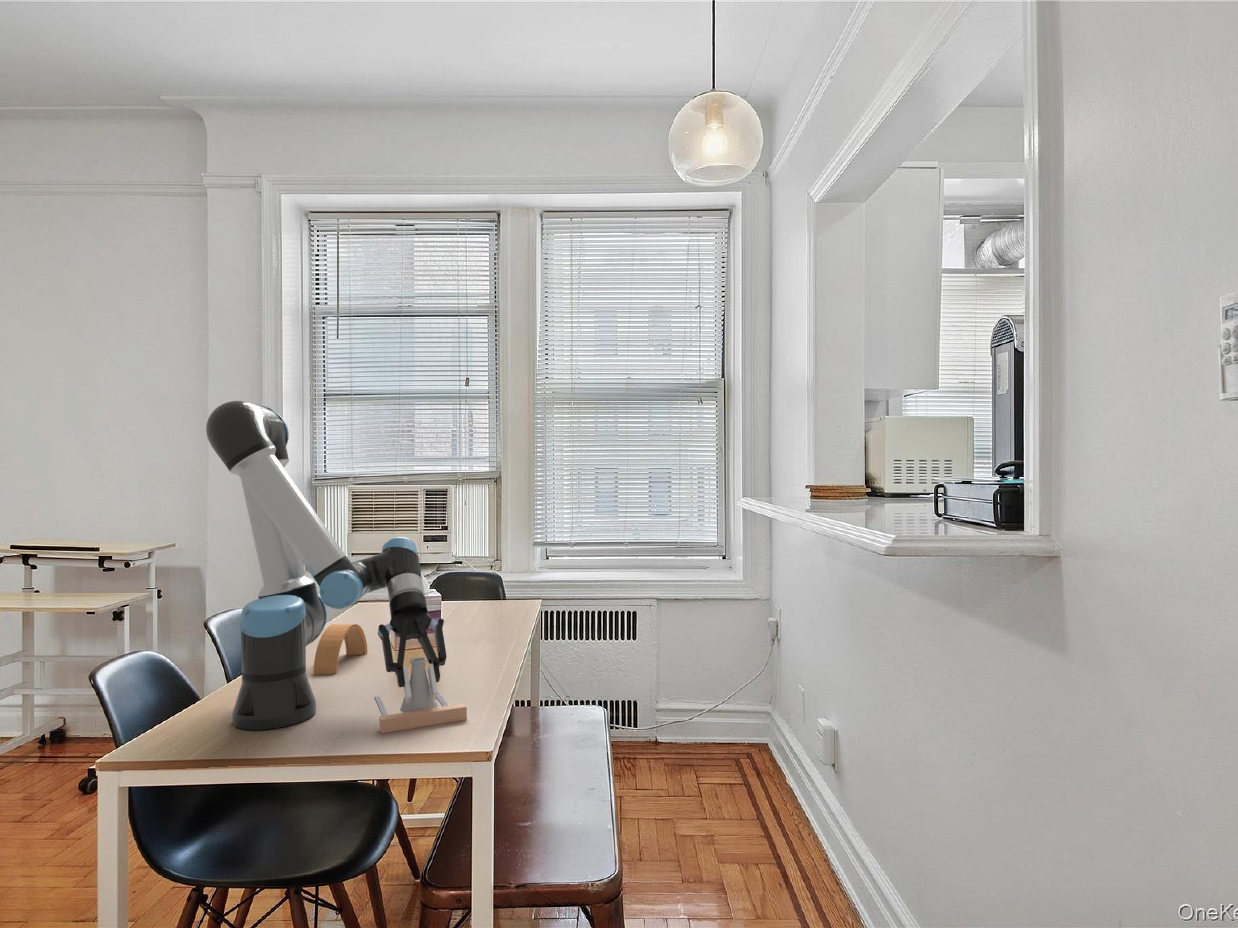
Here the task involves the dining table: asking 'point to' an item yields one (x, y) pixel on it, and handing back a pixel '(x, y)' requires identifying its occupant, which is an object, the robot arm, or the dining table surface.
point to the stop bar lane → (421, 716)
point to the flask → (419, 688)
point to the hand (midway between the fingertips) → (421, 697)
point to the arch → (338, 646)
